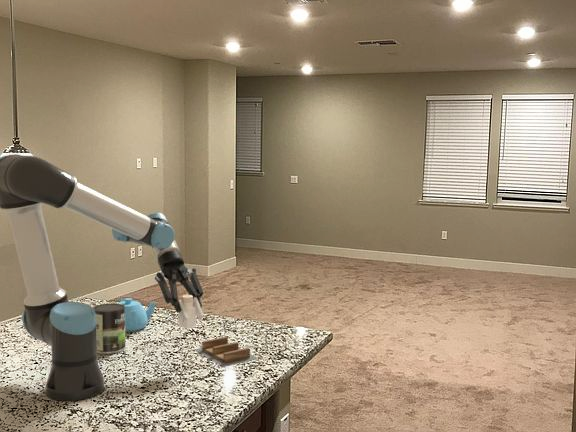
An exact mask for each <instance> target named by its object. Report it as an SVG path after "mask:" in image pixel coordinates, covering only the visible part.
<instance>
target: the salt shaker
mask: <svg viewBox="0 0 576 432" xmlns="http://www.w3.org/2000/svg"><path fill="white" fill-rule="evenodd" d="M181 297H182V299H181V300H182V303H183V306H184V308H185V311H186V313H187V316H188V319H187V321H186V323H183V322H182V319H181V316H180V314H179V313H178V325H179V328H183V329H186V330H187V329H192V328H194V327H197V315H196V307H195V306H193V296H192V295H189V294H184V295H182V296H181Z"/></svg>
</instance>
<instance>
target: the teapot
mask: <svg viewBox="0 0 576 432" xmlns="http://www.w3.org/2000/svg"><path fill="white" fill-rule="evenodd" d="M116 304H122V305H124V306H125V333H130V332H137V331H141V330H143V329H144V328H145V327H146V326H147V325H148V323H149V321H150V320H151V317H152V315H153V313H154V311H155V308H156V306H157V302H156V301H155V302H154V301H153V302H152V301H151V302H150V304H149V306H148V307H147V309H146V310H145V308H144V306H143V305H142V304H141V302H140V301H137V300H133V298H131V297H127V298H120V301H119V302H117V303H116Z"/></svg>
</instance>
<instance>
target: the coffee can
mask: <svg viewBox="0 0 576 432" xmlns="http://www.w3.org/2000/svg"><path fill="white" fill-rule="evenodd" d="M92 308H93V309H94V310H95V315H96V320H97V324H96V342H97V354H100V355H101V354H102V355H112V354H118V353H121V352H123V351H125V350H126V348H127V347H126V332H125V306H124V305H122V304H117V303H115V302H114V303H112V302H111V303H103V304H102V303H101V304H97V305H95V306H92Z"/></svg>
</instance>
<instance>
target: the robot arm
mask: <svg viewBox="0 0 576 432" xmlns="http://www.w3.org/2000/svg"><path fill="white" fill-rule="evenodd" d="M44 204H45V205H48V206H51V207H53V208H55V209H62V208H65V209H66V210H69V211H71V212H73V213H75V214H78V215H80V216H83V217H84V218H87V219H89V220H91V221H94V222H96V223H98V224H100V225H103V226H105V227H107V228H110V229H111V233H112V237H113V239H114V240H116V241H117V242H123V243H127V242H128V243H134V244H139V245H144V246H147V247H151V248H152V250H153V253H154V256H155V258H156V260H157V262H158V266H159V268H160V270H161V272H157V273H156V275H155V277H154V280H155V281H156V283H158V285H159V289H160V290H161V293H162V296H163V298H164V301H165V303H166V304H170V305H171V306H173V307H174V310H175V312H176V313H177V314H178V315H179V314H180V316H181V319H182V322H183V323H186V321H187V319H188V316H187V313H186V311H185V308H184V306H183V303H182V299H179V294H178V286H177V283H180V285H181V286H183V287H184V289H185V290H186V292H187V294H188V295H192V296H193V306H195V307H196V318H197V320H198V321H202V319H203V318H204V316H205V315H204V312H203V310H202V307H203V304H202V301H201V299H202V297H203V295H204V291H203V288H202V286H201V283H200V281H199V278H198V276H197V269H196V268H195V267H193V268H192V269H190V268H188V267H187V266H186V265H185V260H184V258H183V255H182V253H181V251H180V248H179V246H178V243H177V241H176V239H175V236H176V235H175V233H176V232H175V230H174V227H172V226H171V225H170V222H169V221H168V220H167V217H166V215H165V214H163V213H161V212H154V213H150V214H148V215H145V214H143V213H141V212H139V211H137V210H135V209H133V208H131V207H129V206H128V205H124V204H123V203H122V202H120V201H117V200H115V199H112V198H111V197H109V196H106V195H104V194H103V193H100V192H99V191H97V190H94V189H92V188H90V187H89V186H87V185H84V184H82V183H80V182H78V181H77V178H76V176H75V175H73V174H70V173H69V172H67V171H65V170H63V169H62V168H60V167H58V166H56V165H54V164H53V163H51V162H49V161H47V160H45V159H43V158H41V157H38V156H35V155H21V154H8V155H2V156H0V210H2V211H3V212H5V213H6V214H7V216H8V220H9V223H10V228H11V232H12V236H13V240H14V244H15V249H16V253H17V257H18V260H19V265H20V269H21V272H22V276H23V282H24V286H25V290H26V294H27V295H26V297H25V298H24V300H23V306H24V307H23V308H24V310H23V312H22V316H21V320H22V325H23V328H24V329H25V330H26V332H27V333H28V334H29V335H30V336H31V337H32V338H33V339H36V340H38V341H41V342H43V343H45V344H46V345H48V346H50V348H51V350H50V351H51V367H50V370H49V373H48V378H47V381H46V384H45V395H46V396H47V398H49V399H51V400H55V401H61V402H72V401H73V402H74V401H80V400H81V401H82V400H85V399H88V398H89V399H90V398H92V397H94V396H96V395H99V394H101V392H102V391H104V389H105V378H104V376H103V373H102V371H101V368H100V365H99V362H98V357H97V356H98V353H97V342H96V324H97V320H96V315H95V310H94V309H93V306H91V305H90V304H88V303H85V302H78V301H69V297H68V294H67V291H66V290H65V289H63V288H62V287H60V284H59V280H58V275H57V272H56V271H57V270H56V266H55V262H54V258H53V254H52V249H51V245H50V239H49V236H48V231H47V227H46V223H45V218H44V214H43V210H42V207H43V205H44ZM166 279H167V280H168V283H167V282H166Z"/></svg>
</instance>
